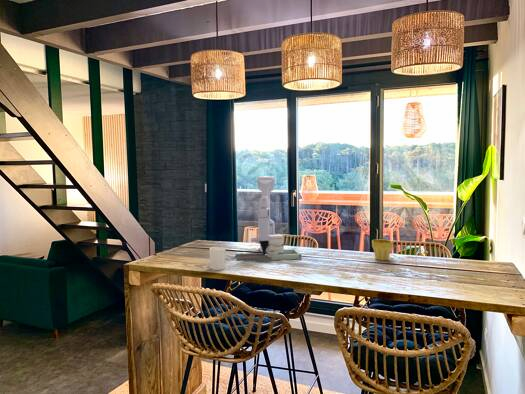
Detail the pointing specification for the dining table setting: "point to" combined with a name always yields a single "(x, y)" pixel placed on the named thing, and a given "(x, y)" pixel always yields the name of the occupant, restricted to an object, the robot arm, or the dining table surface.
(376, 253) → the plant pot
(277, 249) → the ink box
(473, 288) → the dining table surface
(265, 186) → the robot arm
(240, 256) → the printer bay
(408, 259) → the dining table surface
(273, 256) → the tray
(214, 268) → the white cup
